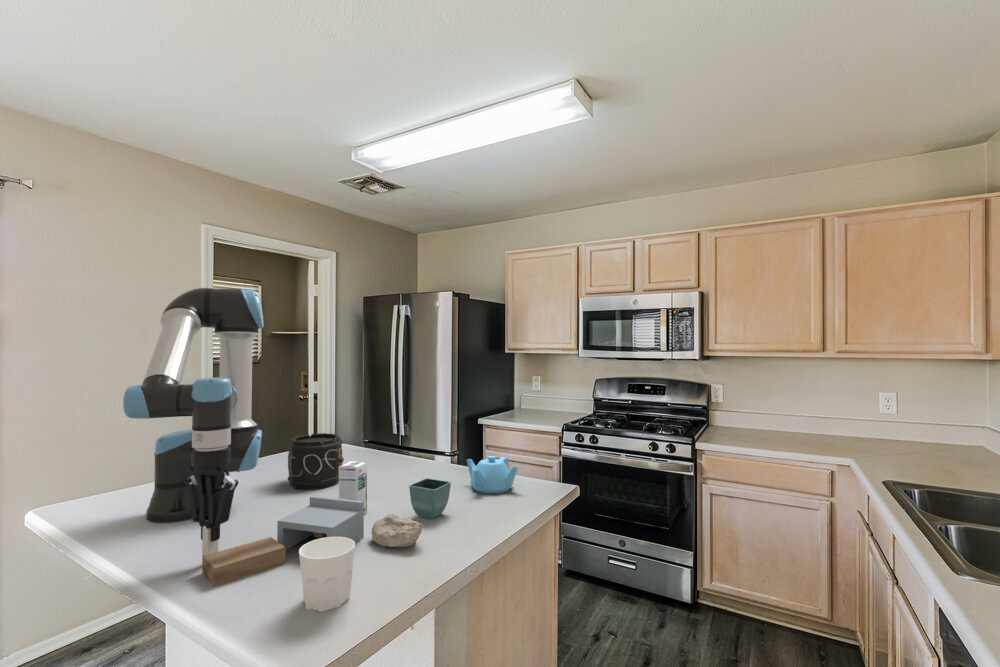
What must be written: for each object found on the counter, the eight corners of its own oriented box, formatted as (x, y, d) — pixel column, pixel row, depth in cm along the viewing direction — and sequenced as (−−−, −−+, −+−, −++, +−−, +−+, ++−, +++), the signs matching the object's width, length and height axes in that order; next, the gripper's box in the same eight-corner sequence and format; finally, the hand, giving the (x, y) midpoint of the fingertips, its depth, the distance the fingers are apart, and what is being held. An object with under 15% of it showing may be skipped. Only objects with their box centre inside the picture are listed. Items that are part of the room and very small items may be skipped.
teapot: (519, 494, 157) (519, 460, 157) (473, 497, 154) (473, 463, 154) (508, 481, 172) (508, 450, 172) (466, 483, 169) (466, 452, 169)
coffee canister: (333, 491, 160) (333, 442, 160) (278, 490, 160) (279, 442, 161) (350, 475, 178) (350, 432, 178) (301, 475, 178) (302, 432, 179)
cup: (321, 583, 99) (321, 534, 99) (364, 590, 96) (365, 540, 96) (286, 609, 89) (287, 554, 89) (333, 618, 86) (333, 561, 87)
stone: (393, 568, 113) (411, 534, 111) (359, 533, 118) (375, 500, 116) (414, 557, 120) (431, 524, 118) (381, 524, 125) (396, 492, 123)
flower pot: (451, 512, 140) (451, 481, 140) (435, 523, 132) (435, 489, 132) (425, 508, 144) (425, 477, 144) (408, 518, 136) (408, 485, 136)
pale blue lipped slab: (277, 550, 114) (277, 512, 114) (312, 530, 126) (312, 495, 126) (332, 559, 110) (332, 518, 110) (363, 537, 122) (363, 501, 122)
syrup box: (357, 519, 134) (358, 466, 135) (338, 517, 136) (338, 465, 136) (367, 512, 140) (367, 461, 140) (348, 510, 141) (348, 460, 141)
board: (202, 575, 103) (202, 556, 103) (270, 554, 113) (270, 536, 113) (214, 588, 97) (214, 568, 98) (285, 565, 108) (285, 547, 108)
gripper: (173, 449, 107) (171, 558, 106) (220, 453, 103) (219, 566, 102) (203, 442, 114) (201, 544, 113) (248, 446, 110) (247, 551, 110)
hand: (210, 554), depth 108 cm, fingers closed
